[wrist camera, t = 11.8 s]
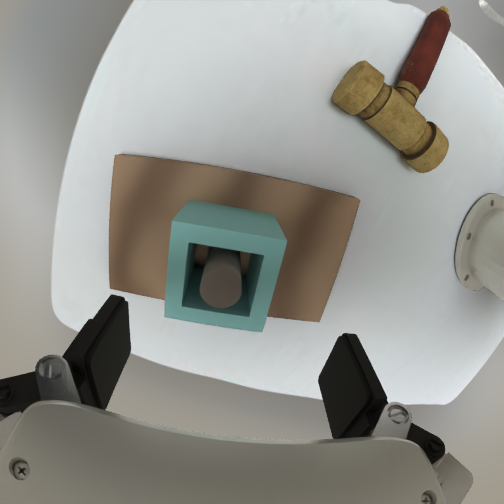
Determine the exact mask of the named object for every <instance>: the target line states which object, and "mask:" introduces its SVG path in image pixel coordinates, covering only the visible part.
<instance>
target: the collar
mask: <svg viewBox="0 0 504 504" xmlns="http://www.w3.org/2000/svg"><path fill="white" fill-rule="evenodd" d="M197 244H202V245H207V246H213V247H219V248H225V249H231V250H237V251H243V252H248V253H251V256H250V260H249V265H248V270H247V274H246V275H241V285H242V293H241V297H240V299H239V300H238V301H237V302H236V303H235V304H234V305H232V306H230V307H227V308H216V307H212V306H210V305H209V304H207V303H206V302H205V301H204V300H203V299H202V297H201V295H200V284H201V279H202V275H203V271H204V268H198V267H194V263H195V255H196V248H197ZM286 244H287V239H286V237H285V235H284V233H283V231H282V229H281V227H280V225H279V223H278V221H277V219H276V218H275V216H274V215H273V214H268V213H263V212H258V211H252V210H247V209H241V208H236V207H230V206H225V205H219V204H213V203H207V202H201V201H195V200H189V201H188V202H187V203H186V204H185V205H184V207H183V208H182V209H181V210H180V212H179V213H178V214H177V215H176V216H175V218H174V219H173V220H172V225H171V234H170V244H169V255H168V266H167V279H166V295H165V314H164V317H167V318H173V319H178V320H183V321H189V322H195V323H201V324H207V325H213V326H219V327H226V328H233V329H240V330H248V331H256V332H262V331H263V328H264V324H265V321H266V317H267V314H268V310H269V307H270V303H271V300H272V296H273V292H274V289H275V285H276V281H277V278H278V274H279V270H280V267H281V263H282V259H283V255H284V252H285V248H286Z"/></svg>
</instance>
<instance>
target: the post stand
mask: <svg viewBox="0 0 504 504" xmlns="http://www.w3.org/2000/svg"><path fill="white" fill-rule="evenodd" d="M189 200H195V201H201V202H207V203H213V204H219V205H225V206H230V207H236V208H241V209H247V210H252V211H258V212H263V213H268V214H273V215H274V216H275V218H276V219H277V221H278V223H279V225H280V227H281V229H282V231H283V233H284V235H285V237H286V239H287V244H286V248H285V252H284V255H283V259H282V263H281V267H280V270H279V274H278V278H277V281H276V285H275V289H274V292H273V296H272V300H271V303H270V307H269V310H268V314H267V316H268V317H276V318H284V319H293V320H302V321H312V322H320V319H321V317H322V314H323V311H324V309H325V306H326V304H327V301H328V298H329V296H330V293H331V290H332V287H333V285H334V282H335V279H336V276H337V273H338V270H339V268H340V265H341V262H342V259H343V256H344V253H345V250H346V246H347V243H348V240H349V237H350V234H351V230H352V227H353V224H354V221H355V217H356V214H357V210H358V207H359V203H360V200H359V199H357V198H355V197H353V196H349V195H346V194H342V193H338V192H334V191H330V190H327V189H323V188H319V187H315V186H310V185H306V184H302V183H298V182H293V181H289V180H284V179H280V178H275V177H271V176H266V175H261V174H256V173H251V172H246V171H240V170H235V169H229V168H224V167H218V166H212V165H205V164H199V163H192V162H186V161H178V160H171V159H163V158H155V157H146V156H137V155H127V154H119V155H115V158H114V166H113V176H112V187H111V200H110V219H109V281H110V289H114V290H119V291H123V292H128V293H133V294H137V295H142V296H147V297H152V298H157V299H162V300H165V295H166V279H167V266H168V255H169V244H170V234H171V225H172V220H173V219H174V218H175V216H176V215H177V214H178V213H179V212H180V210H181V209H182V208H183V207H184V205H185V204H186V203H187V202H188V201H189ZM250 256H251V253H248V252H243V251H237V250H231V249H225V248H219V247H213V246H207V245H202V244H197V248H196V255H195V263H194V267H198V268H204V271H203V275H202V279H201V284H200V295H201V297H202V299H203V300H204V301H205V302H206V303H207V304H209V305H210V306H212V307H216V308H227V307H230V306H232V305H234V304H235V303H236V302H237V301H238V300H239V299H240V297H241V293H242V285H241V275H246V274H247V270H248V265H249V260H250Z"/></svg>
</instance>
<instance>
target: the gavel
mask: <svg viewBox="0 0 504 504" xmlns="http://www.w3.org/2000/svg"><path fill="white" fill-rule="evenodd" d="M450 27H451V23H450V20H449V14H448V9H447V8H446V7H444V6H442V7H441V8H438V9H437V10H436V11H434V12H431V13H430V15H429V17H428V19H427V21H426V23H425V25H424V27H423V29H422V31H421V34H420V36H419V38H418V40H417V42H416V44H415V46H414V48H413V50H412V52H411V54H410V56H409V58H408V60H407V62H406V64H405V66H404V68H403V70H402V71H401V74H400V78H399V82H398V84H397V86H396V88H395V89H394V88H393V87H392V86H389V85H387V84H385V83H384V75H383V74H382V73H380V72H379V71H378V70H377V69H376V68H374V67H373V66H372V65H370V64H369V63H368V62H367V61H360V62H358V63H357V64H355V65H354V66H353V67H352V68H351V69H350V70H349V71H348V72H347V73H346V74H345V76H344V77H343V79H342V80H341V82H340V83H339V85H338V86H337V88H336V89H335V91H334V93H333V102H334V103H335V104H337V105H338V106H340V107H341V108H342V109H344V110H345V111H346V112H348V113H349V114H350V115H356V114H359V115H361V116H362V119H363V120H364V121H365V122H366V123H368V124H369V125H370V126H371V127H373V128H374V129H375V130H376V131H377V132H379V133H380V134H381V135H382V136H383V137H384V138H386V139H387V140H388V141H389V142H390V143H391V144H392V145H394V146H395V147H396V148H397V149H399V150H401V156H402V158H403V159H404V160H405V161H406V162H407V163H408V164H409V165H410V166H411V167H412V168H413V169H414V170H415V171H417V172H419V173H426V172H429V171H431V170H433V169H434V168H436V167H437V166H438V165H439V164H440V163H441V162H442V161H443V159H444V158H445V156H446V154H447V151H448V147H449V142H448V139H447V137H446V136H445V135H444V134H443V133H442V132H441V130H440V129H439V128H438V127H437V126H436V125H435V124H434V123H433V122H429V121H427V122H426V119H425V118H424V117H423V116H422V115H421V114H420V113H419V112H418V111H417V110H416V109H415V108H414V106H415V104H416V101H417V99H418V97H419V95H420V94H421V93H422V92H423V90H424V89H425V88H426V85H427V83H428V81H429V79H430V76H431V74H432V72H433V70H434V67H435V65H436V62H437V60H438V58H439V55H440V53H441V50H442V48H443V45H444V43H445V40H446V37H447V35H448V32H449V29H450Z"/></svg>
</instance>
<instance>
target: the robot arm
mask: <svg viewBox="0 0 504 504" xmlns="http://www.w3.org/2000/svg"><path fill="white" fill-rule="evenodd" d="M455 266H456V273H457V276H458V278H459V280H460V282H461V283H462V284H463V285H464V286H465V287H467V288H468V289H470V290H480V289H482V288H485V287H486V288H488V289H489V290H490V291H491V292H493V293H494V294H495V295H496V296H497V297H499V298H500V299H501V300H502V301H504V197H502V196H500V195H497V194H488V195H486V196H484V197H482V198H481V199H480V200H479V201H477V203H476V204H475V205H474V206H473V207H472V209H471V210H470V212H469V214H468V215H467V217H466V219H465V221H464V223H463V226H462V229H461V231H460V234H459V238H458V242H457V247H456V254H455ZM130 351H131V342H130V328H129V309H128V302H127V301H125V299H124V297H121V296H117V295H113V294H112V295H111V296H110V297H109V298H108V299H107V301H106V302H105V303H104V305H103V306H102V307H101V309H100V310H99V311H98V313H97V314H96V315H95V317H94V318H93V319H89V320H88V321H87V322H86V324H85V325H84V326H83V328H82V329H81V330H80V332H79V333H78V335H77V336H76V337H75V339H74V340H73V342H72V343H71V345H70V346H69V348H68V349H67V350H66V352H65V353H64V355H63V356H62V357H61V356H57V355H47V356H44V357H43V358H41V359H40V360H39V361H38V362H37V364H36V367H35V371H34V372H30V373H26V374H22V375H18V376H13V377H9V378H5V379H1V380H0V504H461V502H462V501H463V499H464V498H465V496H466V494H467V493H468V491H469V489H470V488H471V486H472V483H473V476H472V474H471V472H470V471H469V470H468V469H466V468H465V467H464V466H463V465H462V464H461V463H460V462H459V461H458V460H456V459H455V458H454V457H453V456H452V455H451V454H450V453H447V454H445V445H444V443H443V441H442V440H441V439H440V438H439V437H437V436H435V435H433V434H431V433H429V432H428V431H426V430H424V429H422V428H420V427H419V426H417V425H415V424H413V423H411V422H412V414H411V412H410V410H409V409H408V408H407V407H406V406H405V405H403V404H401V403H398V402H390V403H388V402H387V396H386V394H385V392H384V390H383V388H382V385H381V383H380V381H379V379H378V377H377V375H376V373H375V371H374V369H373V367H372V365H371V363H370V361H369V359H368V356H367V354H366V352H365V350H364V348H363V346H362V344H361V343H360V341H359V339H358V337H357V335H356V334H349V333H344V334H342V336H339V337H338V339H337V341H336V343H335V345H334V347H333V349H332V351H331V353H330V356H329V358H328V360H327V362H326V364H325V366H324V367H323V369H322V371H321V373H320V375H319V379H318V383H319V387H320V390H321V394H322V398H323V402H324V405H325V409H326V413H327V417H328V421H329V424H330V429H331V433H332V437H333V439H324V440H271V439H253V438H240V437H230V436H221V435H214V434H206V433H200V432H194V431H187V430H182V429H177V428H172V427H167V426H163V425H158V424H154V423H150V422H146V421H142V420H138V419H134V418H130V417H126V416H122V415H119V414H116V413H112V412H109V411H106V410H105V409H106V407H107V405H108V403H109V400H110V398H111V395H112V393H113V391H114V389H115V386H116V384H117V382H118V379H119V377H120V375H121V373H122V370H123V368H124V366H125V364H126V361H127V359H128V357H129V355H130ZM102 409H103V410H102Z"/></svg>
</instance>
